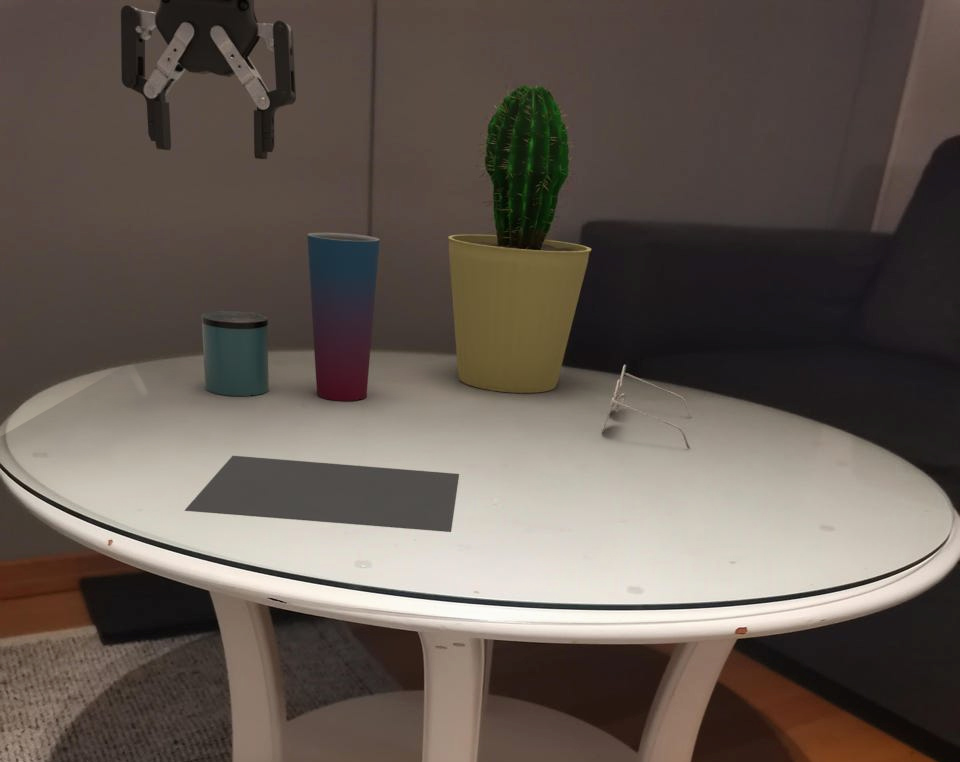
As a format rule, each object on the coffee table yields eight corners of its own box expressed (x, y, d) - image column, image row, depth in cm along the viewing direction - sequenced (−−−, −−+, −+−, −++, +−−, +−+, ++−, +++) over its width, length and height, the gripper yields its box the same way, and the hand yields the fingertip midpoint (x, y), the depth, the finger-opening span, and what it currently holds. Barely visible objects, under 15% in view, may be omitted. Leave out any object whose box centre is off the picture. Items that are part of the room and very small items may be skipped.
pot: (197, 393, 95) (193, 319, 92) (227, 369, 105) (224, 301, 102) (261, 398, 95) (259, 324, 92) (285, 374, 106) (284, 306, 102)
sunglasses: (611, 406, 104) (625, 360, 101) (687, 429, 103) (703, 383, 101) (598, 438, 91) (614, 387, 89) (685, 464, 91) (703, 413, 88)
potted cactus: (583, 376, 116) (618, 89, 103) (564, 404, 103) (601, 78, 89) (458, 361, 119) (477, 79, 105) (424, 386, 105) (439, 66, 92)
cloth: (184, 515, 66) (184, 510, 65) (232, 460, 77) (232, 455, 77) (450, 536, 66) (451, 531, 66) (458, 478, 77) (459, 473, 77)
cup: (318, 404, 95) (318, 239, 88) (300, 387, 100) (299, 231, 94) (384, 402, 98) (389, 242, 91) (363, 386, 103) (366, 234, 96)
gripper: (302, -52, 82) (300, 162, 89) (131, -70, 81) (144, 146, 89) (285, -71, 75) (285, 162, 82) (99, -90, 75) (115, 145, 82)
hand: (212, 154), depth 85 cm, fingers open, 8 cm apart
